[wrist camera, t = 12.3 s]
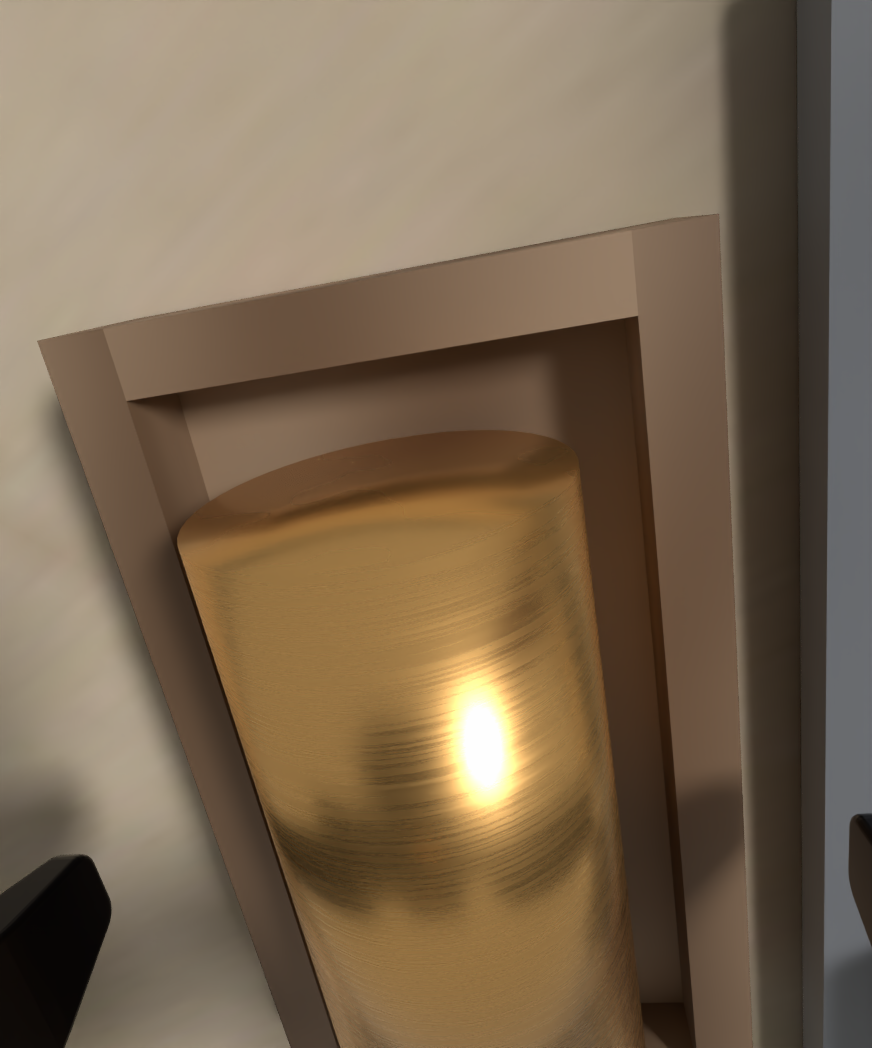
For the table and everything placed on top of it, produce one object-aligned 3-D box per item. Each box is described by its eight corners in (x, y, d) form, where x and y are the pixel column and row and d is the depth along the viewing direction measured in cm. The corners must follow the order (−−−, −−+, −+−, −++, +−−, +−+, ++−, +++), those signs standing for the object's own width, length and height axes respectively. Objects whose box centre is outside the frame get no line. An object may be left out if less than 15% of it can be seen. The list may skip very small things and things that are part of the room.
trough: (675, 218, 9) (717, 214, 7) (720, 979, 13) (755, 1112, 11) (135, 319, 10) (36, 341, 8) (342, 985, 15) (312, 1107, 13)
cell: (566, 412, 9) (598, 537, 5) (632, 974, 12) (680, 1295, 9) (258, 458, 10) (93, 598, 6) (399, 979, 13) (350, 1279, 9)
